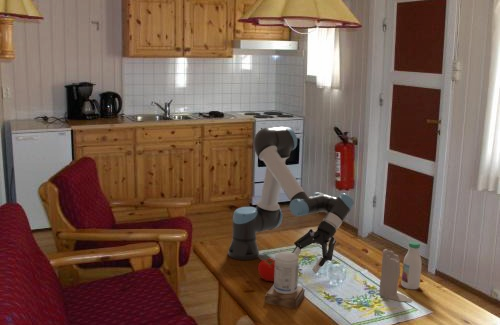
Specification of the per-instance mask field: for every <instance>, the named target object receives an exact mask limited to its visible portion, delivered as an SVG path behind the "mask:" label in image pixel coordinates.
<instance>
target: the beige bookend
mask: <svg viewBox="0 0 500 325" xmlns="http://www.w3.org/2000/svg"><path fill="white" fill-rule="evenodd" d="M400 261H401V259H400V258H399V255H398V254H395V253H394V251H393V250H389V249H387V248H385V249H383V251H382V258H381V271H380V272H381V273H380V279H379V280H380V282H379V289H378V290H379V291H378V294H379V296H380V297H382V298H384V299H385V298H386V299H389V300H392V301H397V302H402V303H403V302H404V303H405V302H406V303H412V301H413V299H412V298H410V297H407V296H406V295H404V294H402V293H398V283H399V279H400V275H401V263H400Z"/></svg>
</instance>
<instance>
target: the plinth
mask: <svg viewBox="0 0 500 325" xmlns="http://www.w3.org/2000/svg"><path fill="white" fill-rule="evenodd" d="M305 290H306V289H304V287H303V286H299V285H297V291H296V292H294V293H292V294H281V293H278V292H277V291H275V289H274V284H273V285H272V286H271V287H270V288H269V290H268V291H267V292H266V293H265V295H264V303H265V304H268V305H273V306H274V305H275V306H280V307H283V308H289V309H294V310H296V309H297V308H298V307H299V304H300V303H301V302H302V300H303V298H304V296H305V292H306V291H305Z"/></svg>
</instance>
